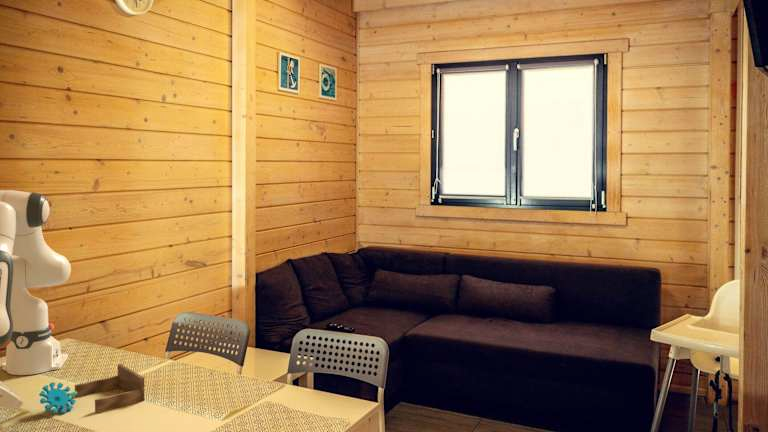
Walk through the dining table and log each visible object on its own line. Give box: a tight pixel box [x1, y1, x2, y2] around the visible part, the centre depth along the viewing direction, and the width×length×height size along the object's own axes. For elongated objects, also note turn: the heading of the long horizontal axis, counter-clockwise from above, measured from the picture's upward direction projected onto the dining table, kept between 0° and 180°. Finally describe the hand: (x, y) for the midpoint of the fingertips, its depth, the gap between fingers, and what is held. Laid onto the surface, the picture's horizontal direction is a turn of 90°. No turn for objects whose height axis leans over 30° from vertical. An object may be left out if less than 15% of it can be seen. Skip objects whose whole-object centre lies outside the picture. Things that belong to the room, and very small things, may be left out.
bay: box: [74, 363, 145, 413], centre depth 196 cm, size 14×17×7 cm
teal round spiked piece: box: [38, 382, 77, 415], centre depth 187 cm, size 11×6×10 cm
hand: (19, 404), depth 179 cm, fingers closed
